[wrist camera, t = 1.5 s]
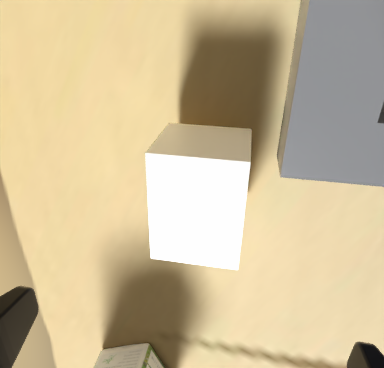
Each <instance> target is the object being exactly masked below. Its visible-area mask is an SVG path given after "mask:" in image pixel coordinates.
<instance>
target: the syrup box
mask: <svg viewBox="0 0 384 368" xmlns="http://www.w3.org/2000/svg"><path fill="white" fill-rule="evenodd" d="M94 368H165V366H164V365H163V363H162V362H161V360H160V359H159V357H158V356H157V354H156V353H155V351H154V350H153V348H152V347H151V346H150V344H149V343H143V344H134V345H126V346H121V347H115V348H109V349H103V350H102V351H101V352H100V354H99V357H98V359H97V361H96V363H95V366H94Z"/></svg>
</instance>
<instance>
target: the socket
mask: <svg viewBox="0 0 384 368" xmlns="http://www.w3.org/2000/svg"><path fill="white" fill-rule="evenodd" d="M277 159H278V165H279V172H280V177H285V178H296V179H306V180H317V181H328V182H339V183H349V184H360V185H371V186H382V187H384V0H301V3H300V10H299V16H298V23H297V29H296V36H295V42H294V49H293V55H292V61H291V68H290V74H289V81H288V87H287V94H286V100H285V107H284V113H283V120H282V126H281V132H280V139H279V145H278V152H277Z"/></svg>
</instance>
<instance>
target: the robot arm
mask: <svg viewBox="0 0 384 368" xmlns="http://www.w3.org/2000/svg"><path fill="white" fill-rule="evenodd" d="M37 314H38V303H37V299H36V296H35V292H34V290H33V289H32V288H30V287H24V286H18V287H16V288H14V289H12V290H11V291H9V292H7V293H5V294H4V295H2V296H0V368H12V366H13V364H14V362H15V360H16V358H17V356H18V354H19V352H20V350H21V348H22V345H23V343H24V341H25V339H26V337H27V335H28V333H29V331H30V329H31V327H32V324H33V323H34V321H35V318H36V316H37ZM347 368H384V355H383V354H382V353H381V352H380V351H379V349H378V348H377V347H376V346H375V345H373V344H370V343H364V342H356V343H355V345H354V347H353V349H352V352H351V354H350V356H349V359H348V362H347Z"/></svg>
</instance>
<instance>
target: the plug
mask: <svg viewBox="0 0 384 368" xmlns="http://www.w3.org/2000/svg"><path fill="white" fill-rule="evenodd" d="M251 138H252V129H247V128H233V127H220V126H206V125H192V124H179V123H168V125H167V126H166V127H165V128H164V130H163V131H162V132H161V134H160V135H159V136H158V137H157V139H156V140H155V141H154V142H153V144H152V145H151V146H150V148H149V149H148V150H147V151H146V153H145V157H146V177H147V197H148V217H149V237H150V257H151V259H158V260H166V261H173V262H181V263H188V264H195V265H203V266H210V267H218V268H225V269H233V270H238V268H239V259H240V251H241V242H242V233H243V225H244V216H245V207H246V199H247V190H248V181H249V173H250V164H251Z"/></svg>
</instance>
